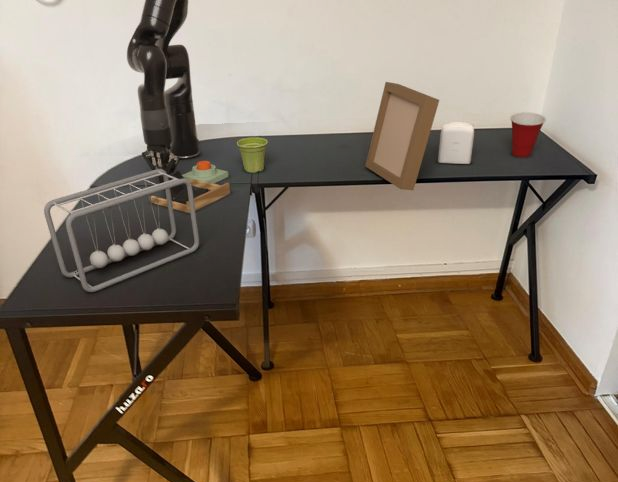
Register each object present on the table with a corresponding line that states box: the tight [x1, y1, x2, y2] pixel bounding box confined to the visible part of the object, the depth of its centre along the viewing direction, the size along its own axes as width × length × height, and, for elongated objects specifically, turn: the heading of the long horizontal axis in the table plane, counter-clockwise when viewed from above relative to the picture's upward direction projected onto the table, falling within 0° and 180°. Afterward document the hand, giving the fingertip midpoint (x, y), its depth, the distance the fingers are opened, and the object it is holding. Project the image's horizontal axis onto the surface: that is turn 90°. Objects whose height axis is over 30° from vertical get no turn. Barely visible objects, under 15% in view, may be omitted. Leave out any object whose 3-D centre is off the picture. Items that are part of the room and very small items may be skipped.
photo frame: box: [364, 81, 440, 191], centre depth 174 cm, size 15×22×25 cm
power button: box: [196, 160, 211, 170], centre depth 180 cm, size 4×4×2 cm
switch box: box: [181, 163, 229, 184], centre depth 181 cm, size 10×10×4 cm
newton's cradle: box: [43, 169, 200, 293], centre depth 132 cm, size 30×10×18 cm, turn 135°
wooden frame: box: [150, 179, 231, 214], centre depth 169 cm, size 14×17×3 cm
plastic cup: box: [509, 111, 547, 158], centre depth 192 cm, size 11×11×12 cm
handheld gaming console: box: [162, 170, 209, 204], centre depth 169 cm, size 12×7×10 cm
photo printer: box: [437, 121, 475, 165], centre depth 187 cm, size 10×4×12 cm, turn 78°
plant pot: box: [236, 136, 268, 174], centre depth 186 cm, size 9×9×9 cm
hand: (165, 187), depth 173 cm, fingers closed
